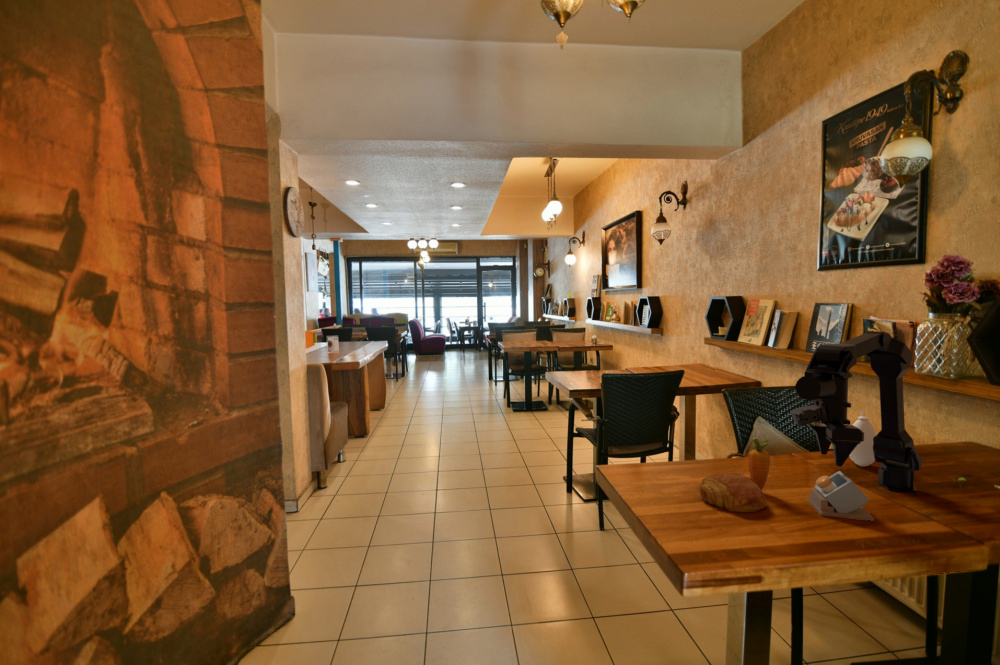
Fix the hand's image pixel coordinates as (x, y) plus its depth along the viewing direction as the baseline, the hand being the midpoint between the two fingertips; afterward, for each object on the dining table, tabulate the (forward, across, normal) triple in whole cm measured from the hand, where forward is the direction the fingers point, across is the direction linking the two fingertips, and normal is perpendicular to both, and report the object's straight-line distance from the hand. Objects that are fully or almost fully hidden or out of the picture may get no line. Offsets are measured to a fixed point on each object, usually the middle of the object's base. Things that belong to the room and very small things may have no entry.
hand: (831, 460), depth 112 cm
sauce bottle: (+12, -39, +22) cm, 47 cm away
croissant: (+13, +2, -22) cm, 25 cm away
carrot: (+12, -7, -14) cm, 20 cm away
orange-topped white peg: (+10, 0, +3) cm, 11 cm away
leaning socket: (+12, 0, +2) cm, 13 cm away
